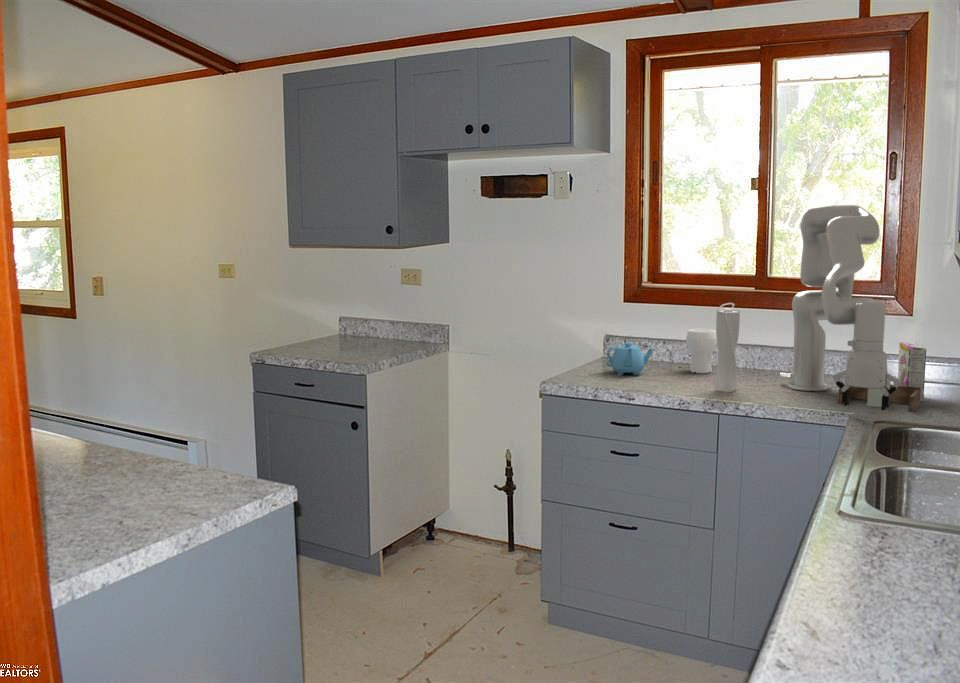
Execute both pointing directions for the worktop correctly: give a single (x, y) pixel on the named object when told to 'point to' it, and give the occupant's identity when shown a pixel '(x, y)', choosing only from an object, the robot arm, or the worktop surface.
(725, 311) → the skyscraper
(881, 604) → the worktop surface
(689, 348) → the cup
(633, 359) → the teapot
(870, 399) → the sage block
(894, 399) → the walnut u-shaped bracket
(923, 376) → the candy bar box
